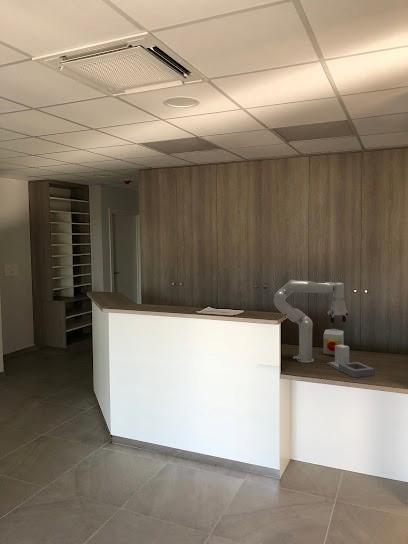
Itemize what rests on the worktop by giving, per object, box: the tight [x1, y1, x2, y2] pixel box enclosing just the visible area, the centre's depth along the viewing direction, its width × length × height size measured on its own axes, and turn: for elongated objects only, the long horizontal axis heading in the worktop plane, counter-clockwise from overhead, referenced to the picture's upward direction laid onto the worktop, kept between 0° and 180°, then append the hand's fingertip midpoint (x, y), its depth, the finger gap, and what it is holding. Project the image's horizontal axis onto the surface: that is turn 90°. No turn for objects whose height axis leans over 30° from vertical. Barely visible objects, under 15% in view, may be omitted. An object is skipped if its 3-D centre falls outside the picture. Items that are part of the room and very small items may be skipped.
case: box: [325, 361, 376, 379], centre depth 319 cm, size 16×34×4 cm, turn 16°
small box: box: [334, 344, 350, 364], centre depth 328 cm, size 8×6×13 cm
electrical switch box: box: [323, 328, 345, 356], centre depth 360 cm, size 14×15×20 cm
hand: (338, 322), depth 335 cm, fingers open, 9 cm apart
